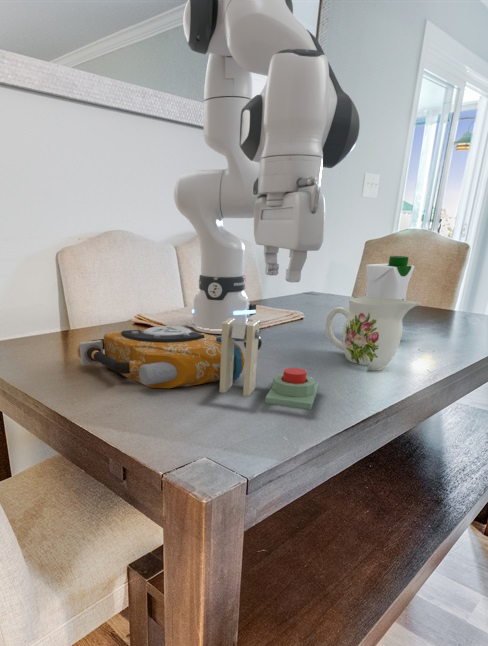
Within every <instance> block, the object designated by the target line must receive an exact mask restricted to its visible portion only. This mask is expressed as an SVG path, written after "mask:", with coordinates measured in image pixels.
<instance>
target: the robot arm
mask: <svg viewBox="0 0 488 646" xmlns="http://www.w3.org/2000/svg"><path fill="white" fill-rule="evenodd" d="M182 20H183V21H182V24H183V25H182V26H183V32H184V36H185V38H186V43H187V46H188V47H189V49H190V50H191V51H192V52H195V53H197V54H202V55H206V54H208V58H207V64H206V71H205V78H204V89H203V133H202V134H203V139H204V142H205V144H206V145H207V147H208V148H210V149H211V150H213V151H214V152H216V153H217V154H219V155H222V156H223V157H225V159H226V161H227V168H225V169H198V170H193V171H190V172H186V173H183V174H181V175H180V176H179V178H178V179H177V180H176V182H175V185H174V189H173V200H174V204H175V207H176V208H177V210H178V211H179V213H180V214H181V215H182V216H183V217H185V218H186V219H187V220H188V221H189V223H191V225H192V227H193V229H194V230H195V232H196V235H197V238H198V241H199V246H200V274H199V277H198V278H199V279H198V289H199V291H198V293H197V294H195V295H194V297H193V306H192V309H191V313H192V319H191V321H192V323H193V324H195V325H196V326H199V327H202V328H209V329H222V323H223V322H225V321H226V320H228V319H229V318H235V319H236V320H235V323H238V324H246V323H247V321H248V318H250V317H252V316H254V315H256V314H257V304H256V303H250V300H249V298H248V296H247V294H246V292H245V289H246V281H247V280H246V279H247V277H246V274H244V269H245V253H246V248H245V244H244V242H243V241H242V239H240V237H238V236H237V235H235V234H233V233H231V232H229V231H228V230H226V228H225V226H224V223H223V220H224V219H253V237H254V242H255V244H256V245H258V246H263V256H264V262H265V269H264V273H265V275H267V276H278V274H279V269H280V264H279V263H278V254H279V249H285V250H289V256H288V257H289V264H288V268H285V278H284V279H285V281H286V282H288V283H299V282H300V281H301V277H302V270H303V268H304V265H305V263H306V261H307V259H308V252H316V251H319V250H320V249H321V247H322V246H323V243H324V235H325V222H326V221H325V218H326V201H325V195H324V194H323V193H322V192H321V179H322V172H323V171H322V170H323V168H324V169H325V168H326V169H333V168H334V167H336V166H338V164H340V162H342V161H343V160H344V159H346V158H347V157H348V156H349V154H350V153H351V152H352V151H353V150H354V148H355V147H356V144H357V141H358V139H359V135H360V125H361V123H360V114H359V112H358V109H357V107H356V105H355V103H354V101H353V100H352V98H351V97H350V95H348V94H347V93H346V92H345V91H344V90H343V88H342V86H341V85H340V83H339V81H338V79H337V76H336V75H335V72H334V70H333V68H332V66H331V65H330V62H329V59H328V56H327V55H326V54H325V51H324V50H323V48H322V46H321V44H320V42H319V41H318V39H317V38H316V36H315V35H314V34H313V33H312V32H310V30H309V29H307V28H306V27H305V26H304V25H303V24H302V23H301V22H300V21H299V20H298V19H297V18H296V16H295V15H294V4H293V0H187V2H186V4H185V7H184V10H183V19H182ZM253 74H256V75H260V76H261V75H262V76H266V82H265V84H264V86H263V88H262V90H261V92H260V93H259V94H256V95H255V96H254V97H253ZM186 326H187V327H189V328H192V329H194V330H195V331H196V332H199V333H204V334H214V335H216V334H217V335H222V334H221V331H210V330H204V329H200V328H197V327H195V326H194V325H192V324H189V323H188V322H187V325H186Z"/></svg>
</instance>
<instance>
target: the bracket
mask: <svg viewBox="0 0 488 646" xmlns="http://www.w3.org/2000/svg"><path fill="white" fill-rule="evenodd" d="M235 320H236V319H235V318H229V319H228V320H226V321H225V322H223V323H222V331H221V334H220V335H221V337H222V339H221V366H220V381H219V393H223V394H226V393H227V392H228V390H230V389H231V387H232V386H233V382H234V380H233V362H234V343H235V342H236V341H235V340H233V339H232V338H231V334H232V327H233V323H235ZM260 321H261V320H260V319H256V320H253V321H252V322H251V323H249V324H248V325H247V335H246V348H245V353H244V354H245V355H244V359H245V361H244V369H243V371H244V373H243V389H242V396H243V397H250V395H252V393H253V392H254V391H255V389H256V379H257V367H258V352H259V350H258V339H259V337H260V336H261V330H260ZM260 338H261V337H260Z"/></svg>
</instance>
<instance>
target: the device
mask: <svg viewBox="0 0 488 646" xmlns="http://www.w3.org/2000/svg"><path fill="white" fill-rule="evenodd" d="M221 339H222V336H215V335H211V334H209V333H205V332H198V331H194V330H191V329H190V328H187V327H184V326H178V325H177V326H176V325H159V326H157V325H156V326H152V327H149V328H146V329H129V330H127V329H126V330H122V331H120V332H119V331H118V332H111V333H105V334H104V335H103V338H98V339H83V340H82V341H79V342H78V344H77V346H76V352H77V353H76V354H77V356H78V358H80V365H81V366H88V365H94V364H101V365H103V366H105V367H107V368H108V369H110V370H112V371H113V372H116V373H119V374H120V375H122V376H123V377H126V378H130V379H132V380H135V381H137V382H138V383H140V384H142V385H144V386H146V387H148V388H153V389H173V388H178V387H184V388H185V387H187V388H188V387H193V386H198V385H203V384H209V383H215V382H220V366H221ZM244 368H245V355H244V353H243V350H242V348H241V347H240V345H239V344H237V343H235V342H234V362H233V381H237V379H239V378H240V376H241V374H242V373H243V371H244Z"/></svg>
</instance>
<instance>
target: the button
mask: <svg viewBox="0 0 488 646" xmlns="http://www.w3.org/2000/svg"><path fill="white" fill-rule="evenodd" d="M282 372H283V381H284V382H287V383H292V384H303V383H306V376H308V375H307V374H308V372H307V370H305V369H303V368H299V367H286V368H284V369H283V371H282Z"/></svg>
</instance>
